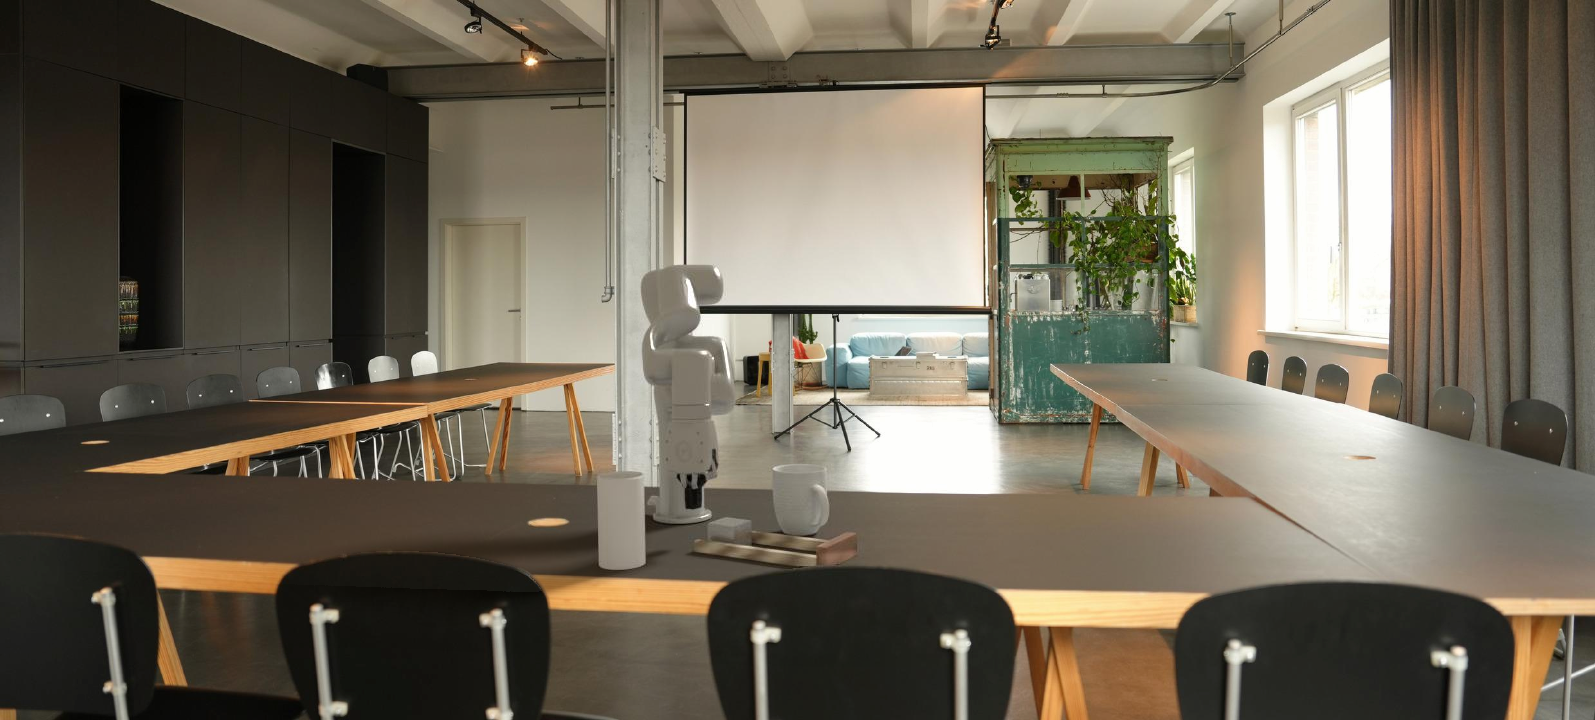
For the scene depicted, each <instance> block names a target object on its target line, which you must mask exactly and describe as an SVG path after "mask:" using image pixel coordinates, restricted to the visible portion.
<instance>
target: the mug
mask: <svg viewBox="0 0 1595 720" xmlns="http://www.w3.org/2000/svg"><path fill="white" fill-rule="evenodd" d="M827 474H828V473H827V467H825V466H823V465H817V464H811V463H808V464H807V463H796V464H795V463H793V464H791V463H790V464H782V465H778V466H774V467H772V499H773V500H772V501H773V507H774V512H775V516H776V519H777V522H778V525H779V527H780V529H781V530H782V532H783V534H785V535H790V536H798V537H804V536H805V537H806V536H810V535H814V534H816V533H817V532H818V530H819V529H820V527H823V526H825V524H826V523H827V522H828V519H829V516H830V503H829V502H830V501H829V498H828V496H827V495H828V482H827V481H828V475H827Z"/></svg>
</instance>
